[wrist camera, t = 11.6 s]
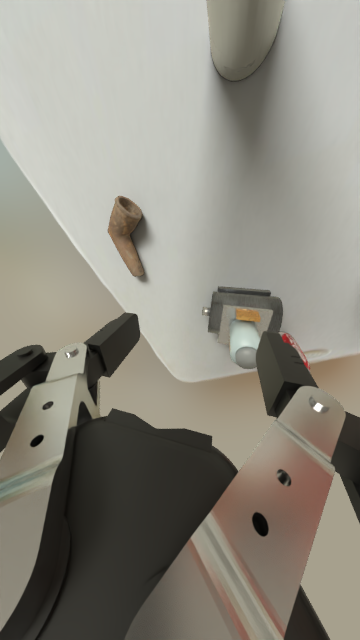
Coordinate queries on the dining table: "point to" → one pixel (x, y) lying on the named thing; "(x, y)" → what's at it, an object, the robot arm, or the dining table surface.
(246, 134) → the dining table surface
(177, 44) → the dining table surface
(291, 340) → the soda can
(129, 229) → the pipe
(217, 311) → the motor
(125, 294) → the dining table surface
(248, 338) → the domed pale cylinder
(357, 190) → the dining table surface
